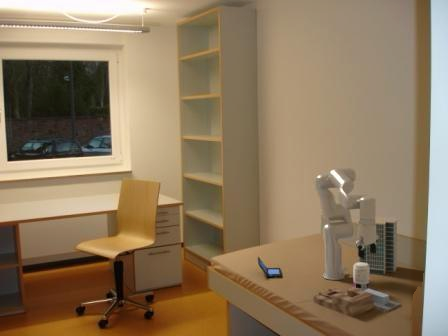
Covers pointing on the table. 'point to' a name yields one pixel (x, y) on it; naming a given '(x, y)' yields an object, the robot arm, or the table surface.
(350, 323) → the table surface
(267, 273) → the game console
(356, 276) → the supplement can
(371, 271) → the building model
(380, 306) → the mat
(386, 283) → the table surface
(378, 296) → the bar
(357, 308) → the jig
